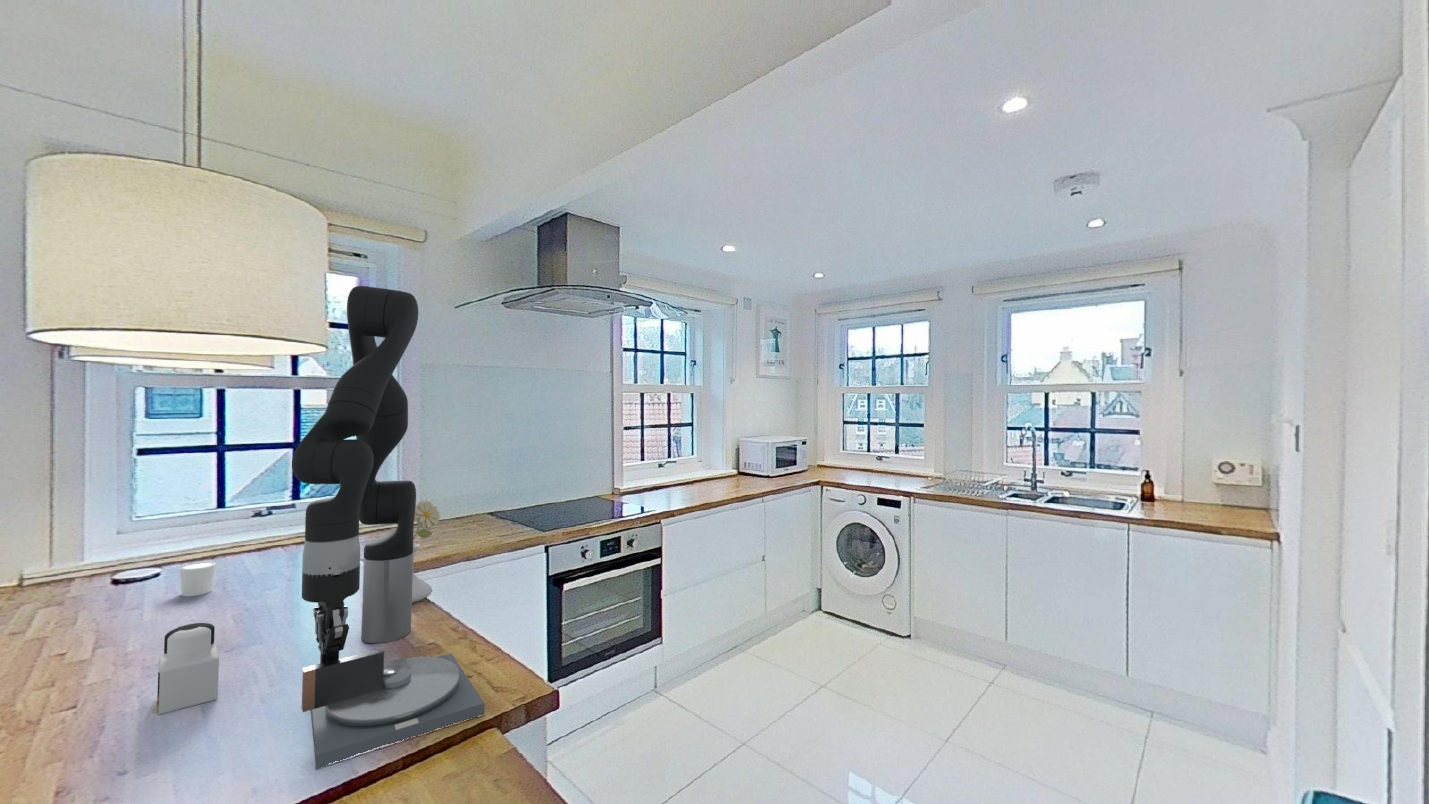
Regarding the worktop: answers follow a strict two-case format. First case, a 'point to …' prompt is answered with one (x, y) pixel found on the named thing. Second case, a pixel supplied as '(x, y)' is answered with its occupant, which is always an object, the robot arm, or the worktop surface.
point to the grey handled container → (188, 668)
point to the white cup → (197, 578)
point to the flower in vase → (426, 519)
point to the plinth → (392, 724)
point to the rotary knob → (377, 687)
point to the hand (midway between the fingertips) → (329, 673)
